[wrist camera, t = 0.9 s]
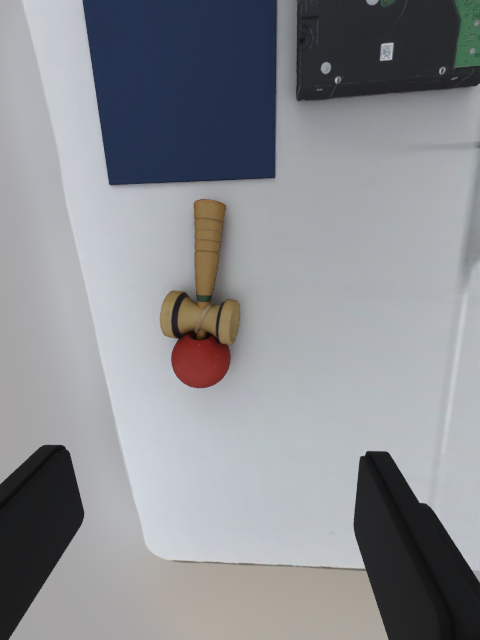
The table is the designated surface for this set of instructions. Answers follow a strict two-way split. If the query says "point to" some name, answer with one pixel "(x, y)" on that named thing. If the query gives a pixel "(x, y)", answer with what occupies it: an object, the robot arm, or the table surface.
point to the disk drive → (385, 46)
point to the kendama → (202, 309)
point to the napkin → (184, 88)
